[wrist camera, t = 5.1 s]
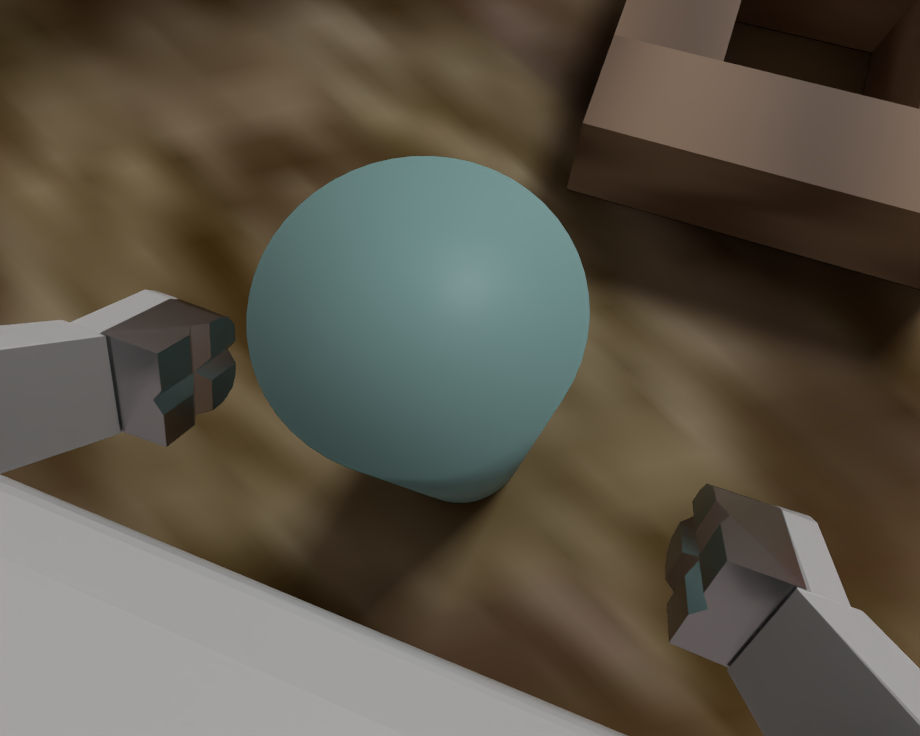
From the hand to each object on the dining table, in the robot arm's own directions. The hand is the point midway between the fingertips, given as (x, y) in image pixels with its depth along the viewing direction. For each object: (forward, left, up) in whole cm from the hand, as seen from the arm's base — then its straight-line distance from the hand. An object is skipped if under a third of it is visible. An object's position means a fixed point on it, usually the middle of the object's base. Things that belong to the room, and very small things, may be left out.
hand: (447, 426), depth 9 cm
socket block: (+6, +15, -6) cm, 17 cm away
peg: (0, +1, -6) cm, 6 cm away
